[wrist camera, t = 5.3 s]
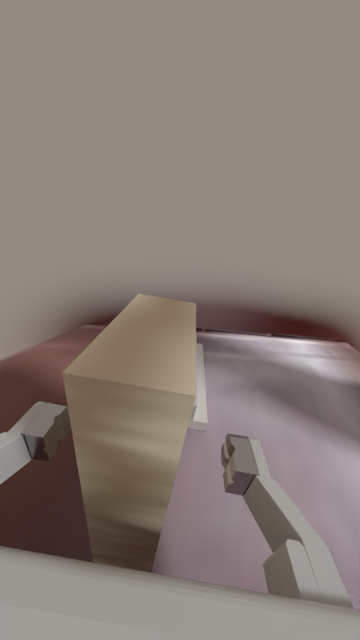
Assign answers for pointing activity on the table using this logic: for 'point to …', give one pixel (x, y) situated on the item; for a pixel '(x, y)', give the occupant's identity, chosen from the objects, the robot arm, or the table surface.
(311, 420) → the table surface
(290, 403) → the table surface
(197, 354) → the floor track
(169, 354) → the tan wooden block
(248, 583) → the table surface
